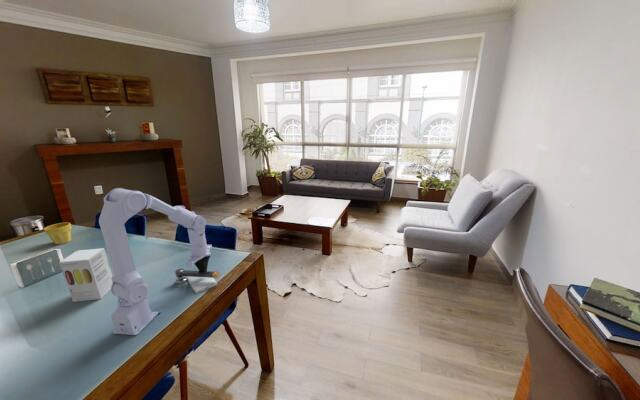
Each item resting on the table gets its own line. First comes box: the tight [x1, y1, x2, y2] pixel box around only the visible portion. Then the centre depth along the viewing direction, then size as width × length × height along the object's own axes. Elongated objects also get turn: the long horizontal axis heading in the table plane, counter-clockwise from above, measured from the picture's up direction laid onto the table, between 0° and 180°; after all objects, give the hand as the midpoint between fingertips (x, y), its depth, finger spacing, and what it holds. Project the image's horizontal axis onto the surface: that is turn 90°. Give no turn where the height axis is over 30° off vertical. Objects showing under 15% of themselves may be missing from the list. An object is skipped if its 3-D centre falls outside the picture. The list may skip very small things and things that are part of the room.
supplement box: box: [58, 247, 114, 303], centre depth 94 cm, size 10×9×17 cm
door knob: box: [175, 276, 188, 285], centre depth 102 cm, size 4×4×3 cm
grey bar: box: [174, 268, 220, 279], centre depth 101 cm, size 3×18×2 cm, turn 84°
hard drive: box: [186, 276, 218, 295], centre depth 102 cm, size 2×8×12 cm
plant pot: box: [43, 221, 73, 245], centre depth 138 cm, size 10×10×10 cm
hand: (203, 272), depth 103 cm, fingers closed
